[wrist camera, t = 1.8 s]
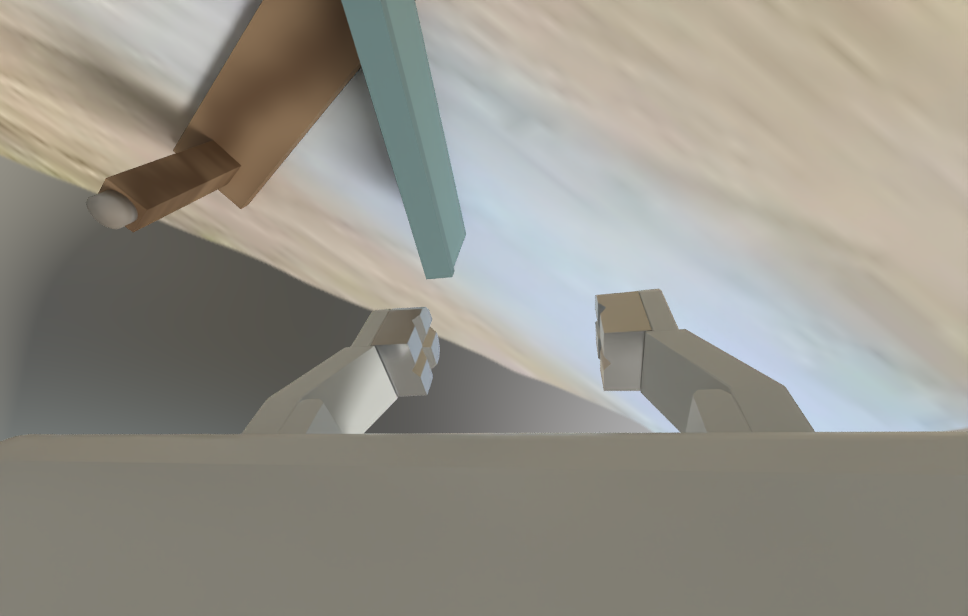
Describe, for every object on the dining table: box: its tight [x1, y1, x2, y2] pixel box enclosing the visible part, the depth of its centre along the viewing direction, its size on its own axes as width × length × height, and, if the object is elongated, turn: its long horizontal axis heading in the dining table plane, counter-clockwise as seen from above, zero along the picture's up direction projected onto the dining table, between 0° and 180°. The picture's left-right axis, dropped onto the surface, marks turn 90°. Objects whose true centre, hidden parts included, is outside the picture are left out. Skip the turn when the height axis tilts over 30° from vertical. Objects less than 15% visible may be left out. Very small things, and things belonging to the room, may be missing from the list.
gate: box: [341, 0, 466, 279], centre depth 23 cm, size 19×2×7 cm, turn 10°
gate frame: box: [86, 0, 361, 232], centre depth 22 cm, size 6×27×11 cm, turn 130°
